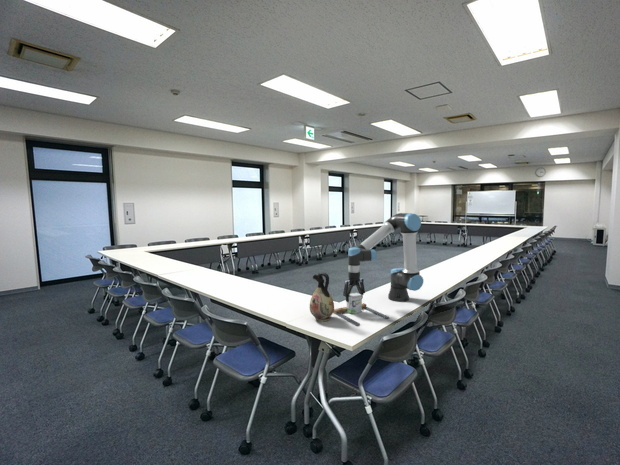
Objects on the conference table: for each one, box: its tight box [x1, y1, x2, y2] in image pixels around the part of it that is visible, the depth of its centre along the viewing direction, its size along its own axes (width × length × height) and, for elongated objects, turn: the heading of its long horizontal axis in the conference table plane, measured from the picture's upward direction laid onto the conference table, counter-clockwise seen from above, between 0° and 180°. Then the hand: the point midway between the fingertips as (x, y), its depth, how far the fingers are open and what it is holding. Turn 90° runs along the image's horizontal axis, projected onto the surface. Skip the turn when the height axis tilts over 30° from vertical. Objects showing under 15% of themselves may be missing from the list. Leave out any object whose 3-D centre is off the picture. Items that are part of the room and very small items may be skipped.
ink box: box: [346, 292, 363, 314], centre depth 196 cm, size 9×5×12 cm, turn 114°
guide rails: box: [335, 306, 390, 327], centre depth 189 cm, size 25×22×1 cm
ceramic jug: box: [309, 272, 335, 322], centre depth 184 cm, size 17×15×30 cm
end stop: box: [333, 302, 367, 315], centre depth 200 cm, size 25×3×2 cm, turn 118°
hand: (354, 305), depth 196 cm, fingers closed on ink box, 9 cm apart
